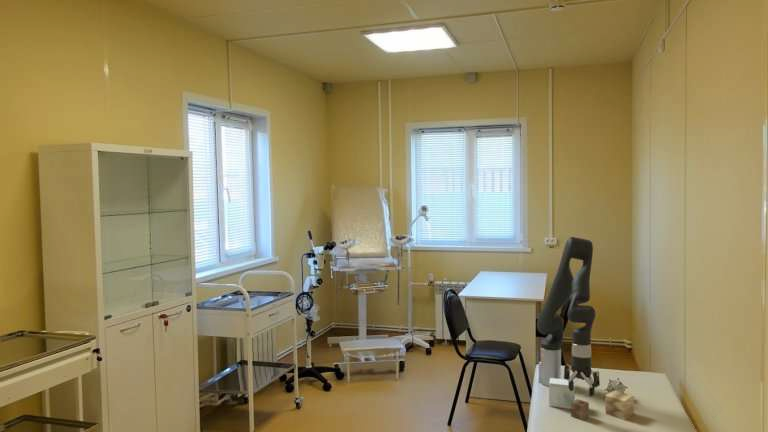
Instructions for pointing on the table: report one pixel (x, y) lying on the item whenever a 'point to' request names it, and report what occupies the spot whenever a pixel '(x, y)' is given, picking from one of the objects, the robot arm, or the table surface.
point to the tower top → (619, 400)
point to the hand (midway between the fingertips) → (581, 393)
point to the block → (579, 409)
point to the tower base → (619, 412)
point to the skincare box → (560, 393)
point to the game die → (615, 386)
